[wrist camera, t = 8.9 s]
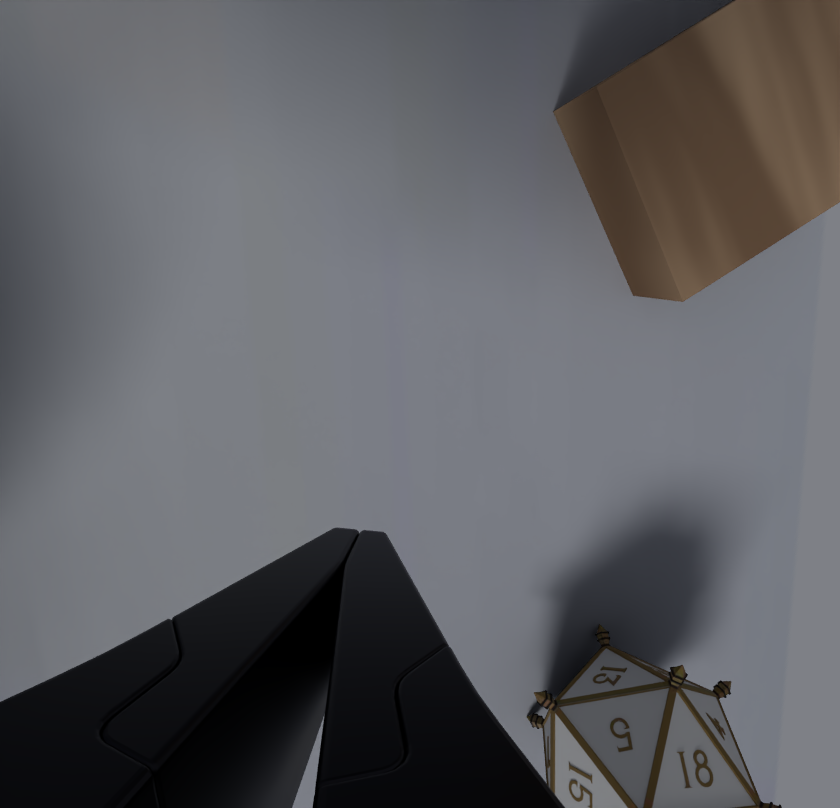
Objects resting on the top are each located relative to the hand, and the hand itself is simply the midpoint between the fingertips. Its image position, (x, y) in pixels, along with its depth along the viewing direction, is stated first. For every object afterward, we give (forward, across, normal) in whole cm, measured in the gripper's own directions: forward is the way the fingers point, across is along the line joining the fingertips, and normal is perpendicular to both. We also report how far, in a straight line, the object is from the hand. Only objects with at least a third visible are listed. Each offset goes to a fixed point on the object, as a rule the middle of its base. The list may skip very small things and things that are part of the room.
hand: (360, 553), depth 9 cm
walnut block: (+12, +6, +5) cm, 15 cm away
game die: (+11, +9, -15) cm, 21 cm away
